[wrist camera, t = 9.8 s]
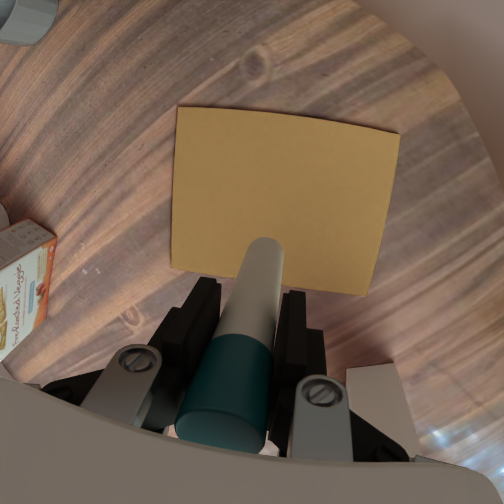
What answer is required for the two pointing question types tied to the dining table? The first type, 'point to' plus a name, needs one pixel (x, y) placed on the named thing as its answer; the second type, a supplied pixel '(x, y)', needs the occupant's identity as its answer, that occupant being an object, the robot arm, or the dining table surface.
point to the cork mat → (281, 195)
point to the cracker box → (23, 280)
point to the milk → (383, 403)
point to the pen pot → (26, 20)
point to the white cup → (3, 218)
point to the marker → (238, 360)
